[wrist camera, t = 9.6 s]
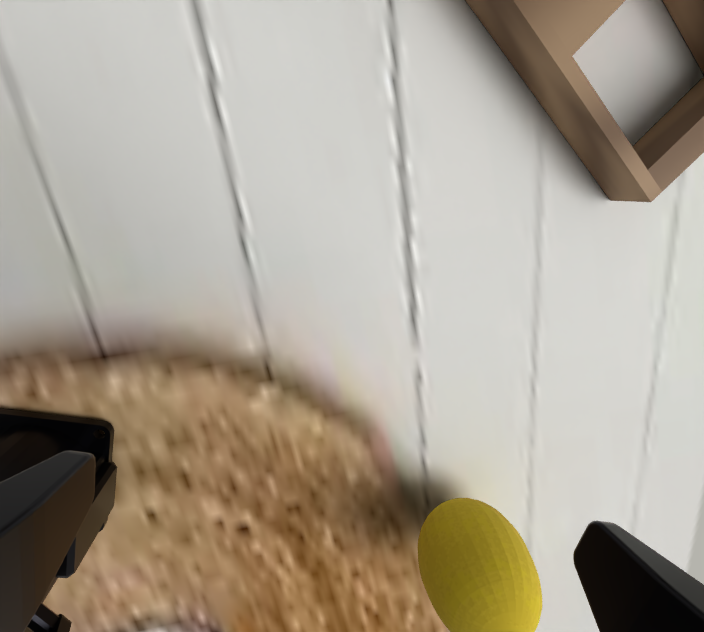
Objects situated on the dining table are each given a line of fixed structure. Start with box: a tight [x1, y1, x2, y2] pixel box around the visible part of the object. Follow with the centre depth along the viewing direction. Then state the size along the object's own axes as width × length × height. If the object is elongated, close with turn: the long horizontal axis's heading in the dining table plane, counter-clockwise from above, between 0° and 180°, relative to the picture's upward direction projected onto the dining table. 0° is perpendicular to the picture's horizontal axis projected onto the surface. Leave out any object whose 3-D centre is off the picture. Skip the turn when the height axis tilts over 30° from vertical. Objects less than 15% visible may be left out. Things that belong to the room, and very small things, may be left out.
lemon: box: [418, 498, 542, 632], centre depth 20 cm, size 6×6×8 cm
